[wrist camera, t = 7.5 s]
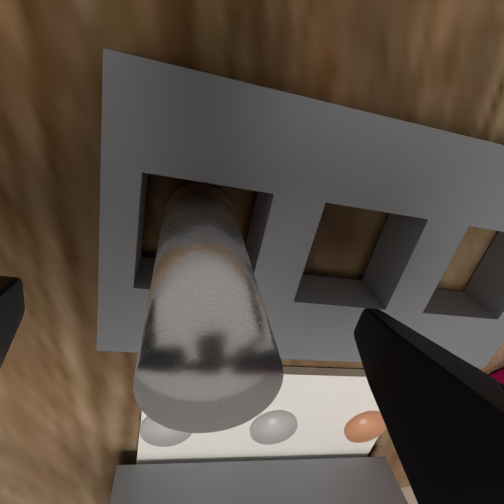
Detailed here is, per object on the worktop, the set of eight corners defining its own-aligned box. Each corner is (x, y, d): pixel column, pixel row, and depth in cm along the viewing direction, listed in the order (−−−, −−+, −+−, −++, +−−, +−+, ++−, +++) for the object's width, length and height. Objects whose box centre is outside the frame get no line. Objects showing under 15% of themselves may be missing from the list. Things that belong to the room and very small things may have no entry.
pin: (240, 189, 14) (300, 332, 7) (227, 251, 16) (265, 432, 8) (167, 177, 14) (138, 321, 6) (160, 243, 15) (128, 433, 7)
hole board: (562, 159, 16) (620, 173, 14) (454, 336, 21) (485, 367, 19) (119, 51, 11) (103, 48, 9) (109, 312, 16) (96, 350, 14)
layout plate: (406, 371, 22) (414, 380, 21) (358, 457, 26) (362, 468, 25) (147, 361, 18) (145, 372, 17) (136, 464, 22) (134, 477, 21)
